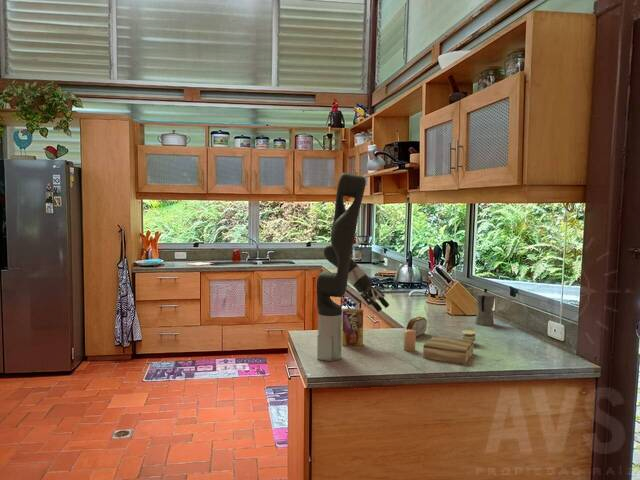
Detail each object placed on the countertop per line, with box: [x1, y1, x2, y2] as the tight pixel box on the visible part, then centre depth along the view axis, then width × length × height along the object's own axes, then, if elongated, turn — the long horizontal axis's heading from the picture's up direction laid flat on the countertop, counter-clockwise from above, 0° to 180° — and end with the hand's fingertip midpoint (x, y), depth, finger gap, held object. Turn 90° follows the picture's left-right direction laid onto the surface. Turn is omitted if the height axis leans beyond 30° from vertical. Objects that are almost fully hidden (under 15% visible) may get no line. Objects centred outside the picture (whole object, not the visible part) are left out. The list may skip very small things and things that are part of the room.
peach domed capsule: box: [403, 329, 417, 352], centre depth 211 cm, size 5×5×8 cm
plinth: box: [422, 335, 474, 365], centre depth 204 cm, size 16×16×5 cm
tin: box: [406, 316, 428, 338], centre depth 234 cm, size 15×3×8 cm, turn 141°
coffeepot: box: [474, 288, 496, 327], centre depth 259 cm, size 15×9×18 cm, turn 153°
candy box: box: [342, 307, 364, 346], centre depth 218 cm, size 9×4×15 cm, turn 90°
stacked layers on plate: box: [461, 329, 477, 343], centre depth 222 cm, size 10×9×6 cm
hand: (384, 308), depth 216 cm, fingers open, 8 cm apart
